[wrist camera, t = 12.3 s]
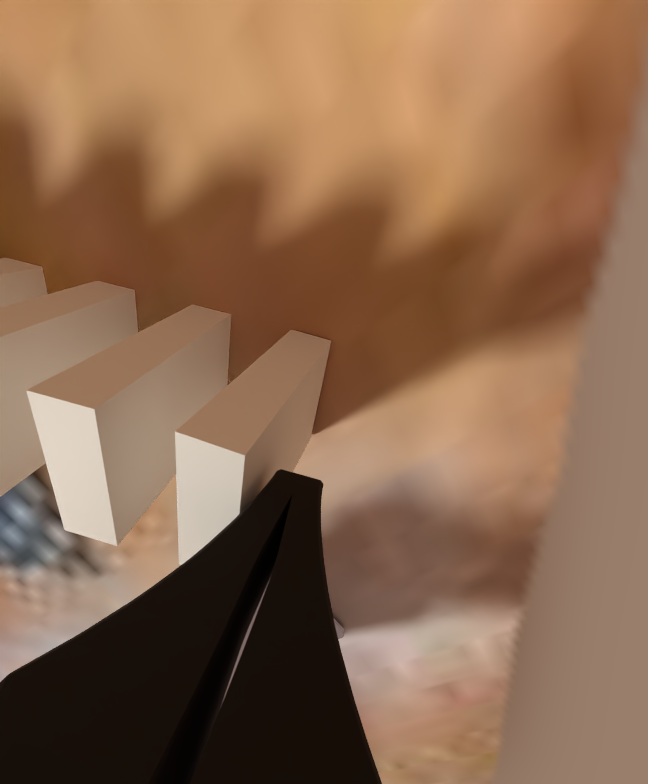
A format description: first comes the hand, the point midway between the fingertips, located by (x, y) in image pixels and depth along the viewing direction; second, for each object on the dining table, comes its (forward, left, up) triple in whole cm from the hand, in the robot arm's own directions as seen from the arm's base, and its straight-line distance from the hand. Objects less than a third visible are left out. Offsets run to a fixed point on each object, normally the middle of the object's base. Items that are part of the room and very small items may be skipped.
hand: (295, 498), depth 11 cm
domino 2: (+4, +4, -6) cm, 9 cm away
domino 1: (+7, +7, -6) cm, 12 cm away
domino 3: (+1, +1, -6) cm, 7 cm away
